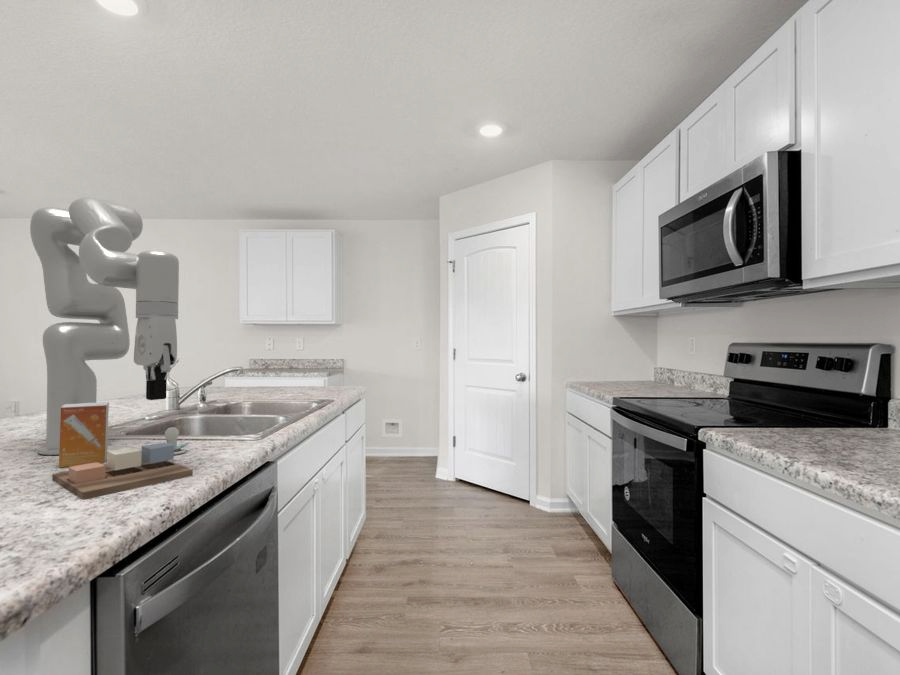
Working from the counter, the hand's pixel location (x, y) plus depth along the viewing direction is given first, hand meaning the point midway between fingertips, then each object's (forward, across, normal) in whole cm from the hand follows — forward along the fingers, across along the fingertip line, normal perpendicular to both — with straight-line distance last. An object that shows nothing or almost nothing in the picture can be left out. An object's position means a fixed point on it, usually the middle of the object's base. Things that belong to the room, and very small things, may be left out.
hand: (156, 399), depth 95 cm
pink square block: (+15, 0, -12) cm, 19 cm away
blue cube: (+13, 0, 0) cm, 13 cm away
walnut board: (+15, 0, -6) cm, 16 cm away
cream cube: (+13, 0, -6) cm, 14 cm away
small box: (+15, -20, -7) cm, 26 cm away
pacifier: (+15, -14, +9) cm, 23 cm away
